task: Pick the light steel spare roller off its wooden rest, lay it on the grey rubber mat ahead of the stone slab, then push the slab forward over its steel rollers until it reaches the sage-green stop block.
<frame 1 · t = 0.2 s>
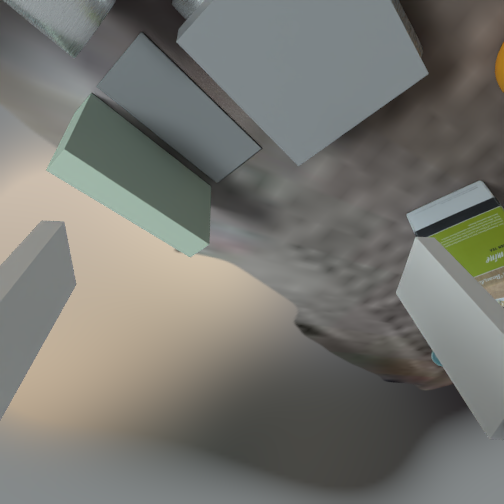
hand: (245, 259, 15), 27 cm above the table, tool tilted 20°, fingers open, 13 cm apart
stone slab: (305, 51, 28), point 7 cm above the table, slide at 0.0 cm
stop block: (149, 153, 42), on the table
roller bed: (293, 16, 32), on the table
tea box: (453, 226, 54), on the table
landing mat: (185, 119, 39), on the table
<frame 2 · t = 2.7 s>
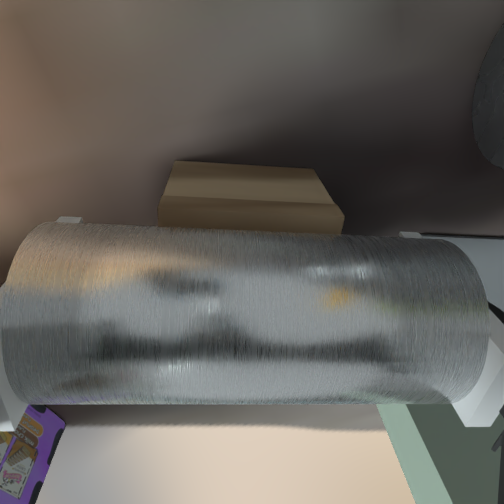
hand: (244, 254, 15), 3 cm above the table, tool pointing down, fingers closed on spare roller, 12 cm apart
stop block: (492, 368, 24), on the table
roller rest: (241, 216, 18), on the table
spare roller: (246, 267, 14), point 4 cm above the table, touching gripper, roller rest
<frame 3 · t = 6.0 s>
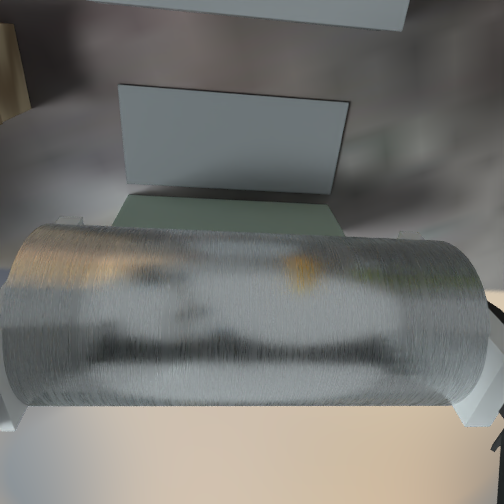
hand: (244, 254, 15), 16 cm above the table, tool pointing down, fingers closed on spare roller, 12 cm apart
stop block: (229, 216, 31), on the table
spare roller: (246, 269, 14), point 17 cm above the table, touching gripper
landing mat: (233, 143, 28), on the table
when the fingers open (1 cm above the table, at t = 9.6 s): spare roller drops 2 cm, resting on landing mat.
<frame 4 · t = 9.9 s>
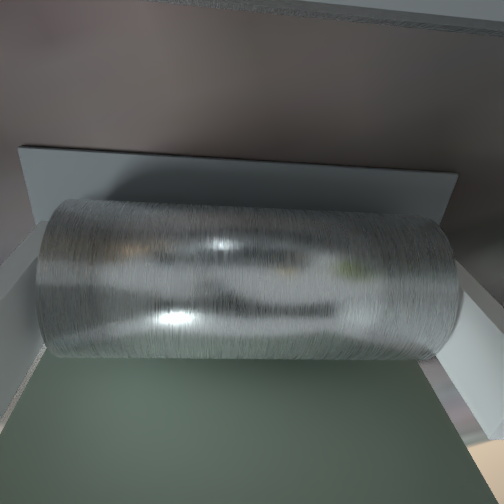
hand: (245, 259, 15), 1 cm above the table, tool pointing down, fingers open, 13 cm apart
stop block: (235, 347, 19), on the table
spare roller: (246, 245, 15), resting on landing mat
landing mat: (243, 243, 16), on the table
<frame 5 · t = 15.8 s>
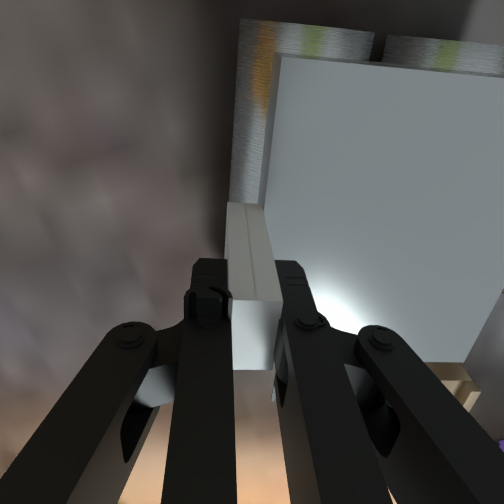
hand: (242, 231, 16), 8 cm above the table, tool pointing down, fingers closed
stone slab: (385, 235, 18), point 7 cm above the table, slide at 0.2 cm, touching gripper
roller bed: (338, 178, 24), on the table
roller rest: (408, 367, 34), on the table
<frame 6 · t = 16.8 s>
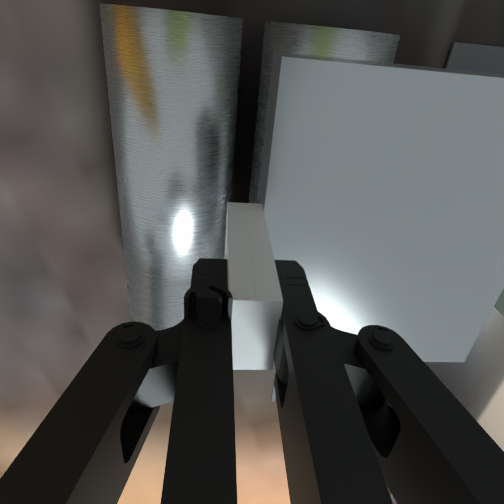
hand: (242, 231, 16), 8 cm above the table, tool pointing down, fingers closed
stone slab: (385, 235, 18), point 7 cm above the table, slide at 6.1 cm, touching gripper
roller bed: (247, 172, 23), on the table
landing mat: (459, 185, 25), on the table
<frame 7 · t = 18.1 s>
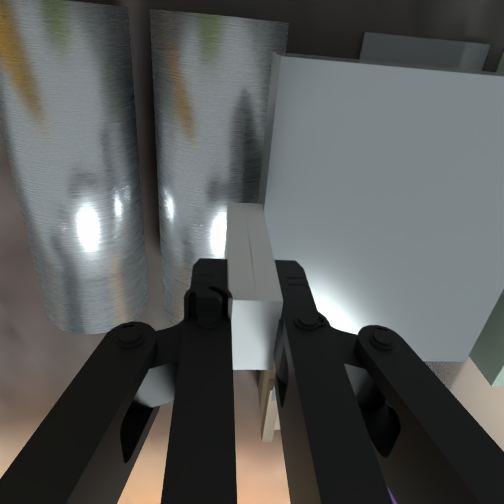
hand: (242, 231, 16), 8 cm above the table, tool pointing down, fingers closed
stone slab: (386, 234, 18), point 8 cm above the table, slide at 11.0 cm, touching gripper
stop block: (474, 185, 25), on the table
roller bed: (165, 167, 23), on the table
roller rest: (290, 365, 33), on the table
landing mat: (387, 180, 24), on the table
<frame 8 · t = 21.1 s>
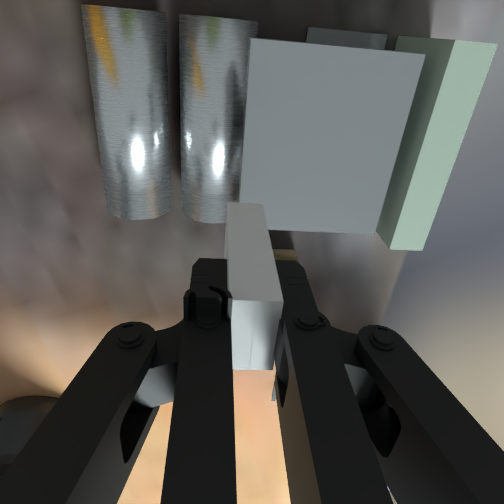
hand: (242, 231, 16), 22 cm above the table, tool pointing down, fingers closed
stone slab: (318, 146, 30), point 8 cm above the table, slide at 11.2 cm
stop block: (389, 130, 37), on the table
roller bed: (183, 115, 35), on the table
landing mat: (330, 126, 36), on the table
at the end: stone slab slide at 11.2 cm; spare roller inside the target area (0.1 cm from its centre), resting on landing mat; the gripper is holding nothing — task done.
